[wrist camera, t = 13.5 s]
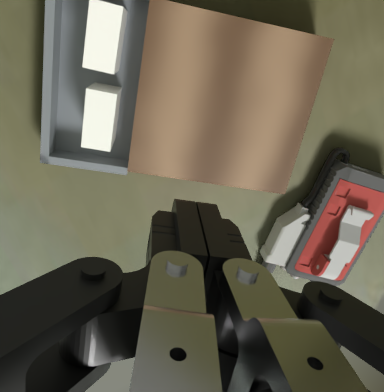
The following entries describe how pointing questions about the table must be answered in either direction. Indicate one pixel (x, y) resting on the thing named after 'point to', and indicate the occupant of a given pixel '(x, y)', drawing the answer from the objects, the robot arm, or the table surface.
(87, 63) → the tile
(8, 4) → the table surface
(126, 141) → the box
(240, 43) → the tan flat block
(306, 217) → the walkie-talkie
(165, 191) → the table surface
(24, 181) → the table surface
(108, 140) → the tile
